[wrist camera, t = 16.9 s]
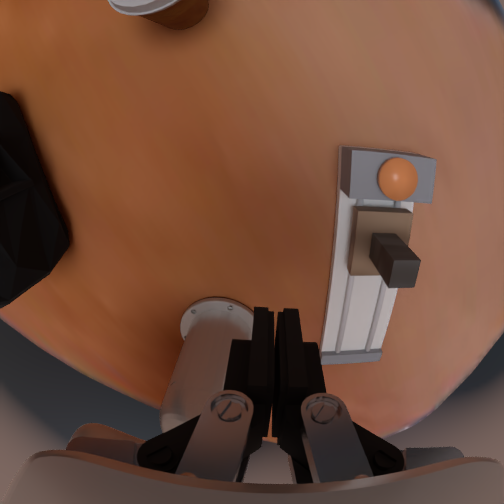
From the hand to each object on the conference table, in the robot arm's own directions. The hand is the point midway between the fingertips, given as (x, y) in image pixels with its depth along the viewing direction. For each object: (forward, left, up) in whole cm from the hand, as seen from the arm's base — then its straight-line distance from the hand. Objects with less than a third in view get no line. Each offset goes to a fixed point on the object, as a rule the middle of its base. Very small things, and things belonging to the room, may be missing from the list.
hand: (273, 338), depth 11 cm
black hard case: (-8, +37, -26) cm, 46 cm away
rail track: (-5, -16, -26) cm, 31 cm away
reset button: (+7, -11, -21) cm, 25 cm away
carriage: (0, -14, -23) cm, 27 cm away
